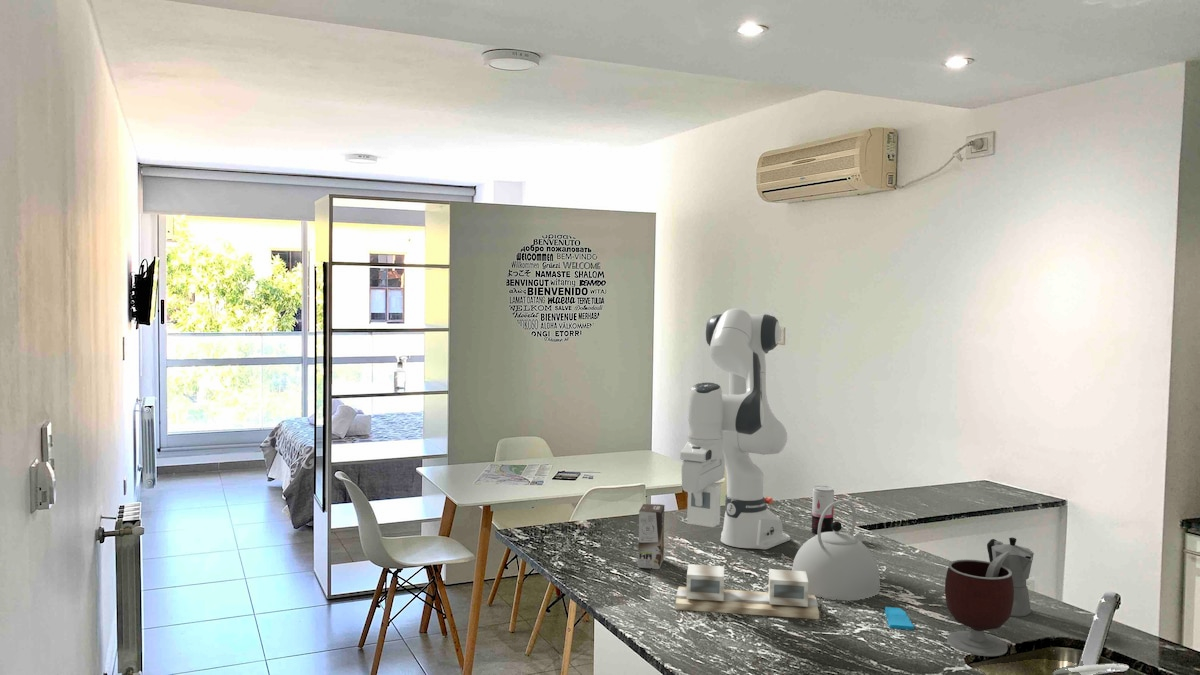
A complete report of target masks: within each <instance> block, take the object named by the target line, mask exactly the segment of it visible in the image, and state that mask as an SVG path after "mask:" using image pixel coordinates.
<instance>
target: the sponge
mask: <svg viewBox="0 0 1200 675" xmlns="http://www.w3.org/2000/svg"><path fill="white" fill-rule="evenodd" d="M884 613H885V617H886V620H887V623H888V627H889V628H890V629H900V630H910V631H911V630H912V631H913V630H915V629H916V628H915V625H914V624H913V622H912V621H911V619H910V617H909V615H908V614H907V612H906V611H905V610H903V609H902V607H893V606H892V607H891V606H885V609H884Z"/></svg>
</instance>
